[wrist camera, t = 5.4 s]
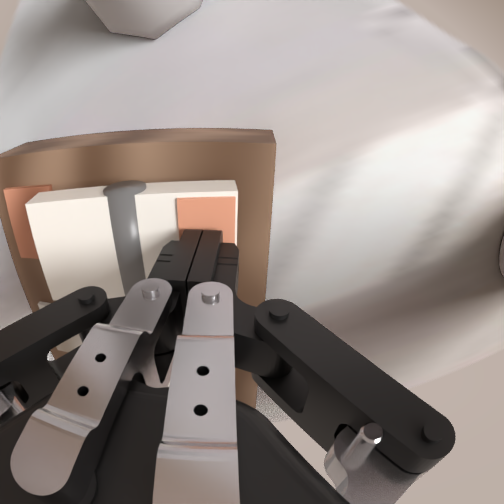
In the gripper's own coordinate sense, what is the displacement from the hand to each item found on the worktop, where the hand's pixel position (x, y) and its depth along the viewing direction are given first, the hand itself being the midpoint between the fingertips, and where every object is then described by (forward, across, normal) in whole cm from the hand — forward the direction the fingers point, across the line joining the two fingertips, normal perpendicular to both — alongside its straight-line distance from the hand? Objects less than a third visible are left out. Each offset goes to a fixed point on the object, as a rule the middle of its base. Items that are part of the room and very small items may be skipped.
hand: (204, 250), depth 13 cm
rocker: (0, +3, 0) cm, 3 cm away
